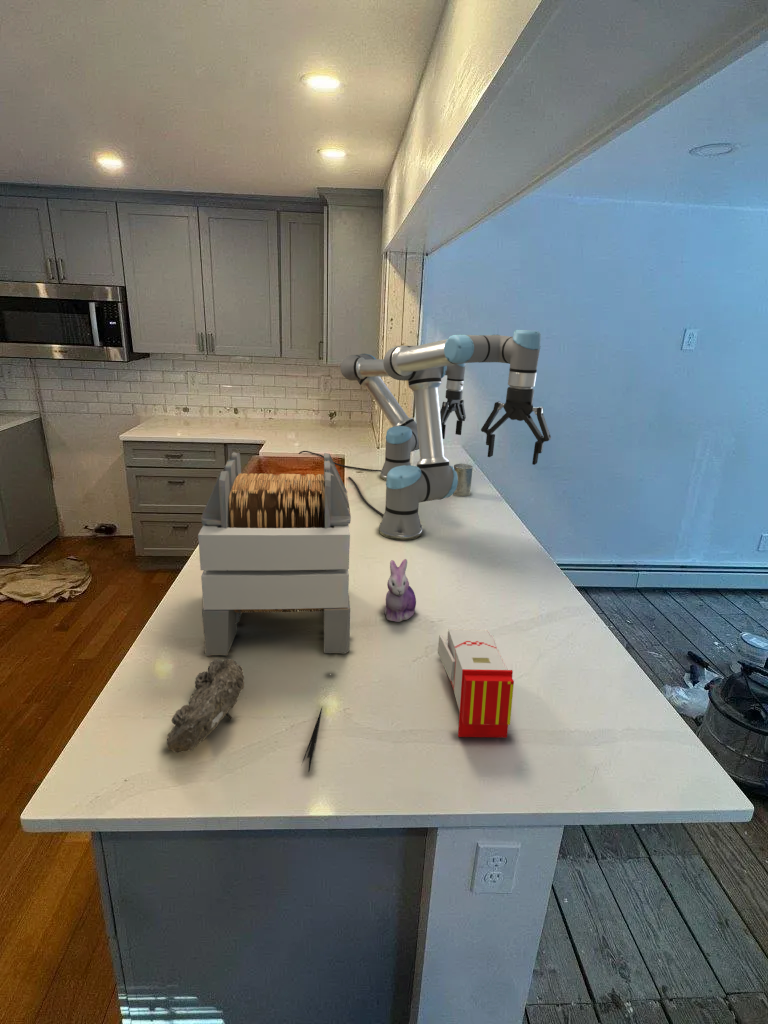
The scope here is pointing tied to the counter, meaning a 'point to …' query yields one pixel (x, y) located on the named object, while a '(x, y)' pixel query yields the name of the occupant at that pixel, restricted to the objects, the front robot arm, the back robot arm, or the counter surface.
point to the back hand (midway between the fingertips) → (450, 436)
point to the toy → (478, 682)
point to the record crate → (275, 551)
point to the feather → (313, 740)
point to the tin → (463, 479)
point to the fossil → (206, 705)
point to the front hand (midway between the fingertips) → (512, 460)
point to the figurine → (399, 594)
